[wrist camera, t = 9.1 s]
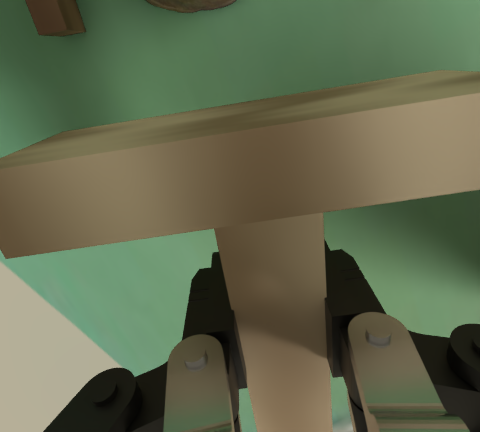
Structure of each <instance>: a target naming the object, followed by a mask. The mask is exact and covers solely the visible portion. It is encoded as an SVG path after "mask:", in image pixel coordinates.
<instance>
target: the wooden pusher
mask: <svg viewBox="0 0 480 432" xmlns="http://www.w3.org/2000/svg"><path fill="white" fill-rule="evenodd" d="M473 190H480V72H473V71H451V70H438V71H431V72H425V73H419V74H413V75H407V76H401V77H395V78H389V79H383V80H376V81H370V82H364V83H358V84H352V85H346V86H340V87H334V88H328V89H321V90H315V91H309V92H303V93H297V94H291V95H285V96H279V97H273V98H266V99H260V100H254V101H248V102H242V103H236V104H230V105H224V106H218V107H211V108H205V109H199V110H193V111H187V112H181V113H175V114H169V115H163V116H156V117H150V118H144V119H138V120H132V121H126V122H120V123H114V124H108V125H102V126H95V127H89V128H83V129H77V130H71V131H65V132H61V133H59V134H57V135H54V136H52V137H50V138H47V139H45V140H42V141H40V142H38V143H35V144H33V145H31V146H28V147H26V148H24V149H21V150H19V151H16V152H14V153H12V154H9V155H7V156H5V157H2V158H0V249H1V251H2V253H3V255H4V257H5V258H6V259H8V258H15V257H22V256H29V255H36V254H43V253H49V252H56V251H63V250H70V249H77V248H84V247H90V246H97V245H104V244H111V243H118V242H125V241H131V240H138V239H145V238H152V237H159V236H166V235H172V234H179V233H186V232H193V231H200V230H207V229H213V228H214V231H215V235H216V240H217V245H218V249H219V254H220V259H221V263H222V268H223V273H224V277H225V282H226V287H227V291H228V296H229V301H230V305H231V310H234V312H235V317H236V322H237V327H238V332H239V336H240V341H241V346H242V351H243V355H244V360H245V365H246V372H247V385H248V390H249V394H250V399H251V404H252V408H253V413H254V418H255V422H256V427H257V432H332V409H331V386H330V366H329V363H328V360H327V344H326V322H325V301H324V298H326V297H327V293H326V269H325V246H324V223H323V212H330V211H336V210H343V209H350V208H357V207H364V206H371V205H378V204H384V203H391V202H398V201H405V200H412V199H419V198H425V197H432V196H439V195H446V194H453V193H460V192H466V191H473Z"/></svg>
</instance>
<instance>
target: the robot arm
mask: <svg viewBox="0 0 480 432" xmlns="http://www.w3.org/2000/svg"><path fill="white" fill-rule="evenodd" d="M324 246H325V269H326V293H327V297H326V298H324V301H325V322H326V344H327V360H328V363H329V366H330V370H331V373H332V376H333V378H334V377H343V378H344V380H345V383H346V386H347V400H348V406H349V411H350V415H351V420H352V425H353V430H354V432H480V324H464V325H461V326H458V327H457V328H455V329H454V330H453V331H452V333H451V336H450V338H447V337H439V336H432V335H424V334H419V333H415V332H411V331H409V330H407V329H406V327H405V326H404V325H403V324H402V323H401V322H400V321H398V320H397V319H395V318H393V317H391V316H389V315H387V314H386V313H385V311H384V309H383V308H382V306H381V304H380V302H379V301H378V299H377V297H376V296H375V294H374V292H373V291H372V289H371V287H370V285H369V284H368V282H367V280H366V279H365V278H364V275H363V273H362V272H361V270H359V267H358V265H357V263H356V262H355V260H354V258H353V257H352V256H350V255H349V254H348V253H346V252H345V251H343V250H342V249H340V250H333V251H330V249H329V247H328V245H327V243H326V241H325V239H324ZM188 301H189V303H188V306H187V313H186V319H185V325H184V331H183V337H182V341H181V342H180V343H178V344H177V345H176V346H175V347H174V349H173V350H172V352H171V354H170V356H169V359H168V361H167V362H166V363H164V364H163V365H161V366H159V367H157V368H155V369H153V370H151V371H148V372H146V373H144V374H141V375H139V376H137V377H134V375H133V374H132V373H131V372H130V371H129V370H127V369H124V368H112V369H109V370H106V371H103V372H101V373H99V374H98V375H96V376H95V377H93V378H92V379H91V380H90V381H89V382H88V383H87V384H86V385H85V386H84V387H83V388H82V389H81V390H80V391H79V392H78V393H77V395H76V396H75V397H74V398H73V399H72V400H71V401H70V402H69V404H68V405H67V406H66V407H65V408H64V409H63V410H62V411H61V412H60V414H59V415H58V416H57V417H56V418H55V419H54V420H53V421H52V423H51V424H50V425H49V426H48V427H47V428H46V429H45V430H44V431H43V432H242V429H241V422H240V415H239V389H243V388H247V372H246V365H245V360H244V355H243V351H242V346H241V341H240V336H239V332H238V327H237V322H236V317H235V312H234V310H231V305H230V301H229V296H228V291H227V287H226V282H225V277H224V273H223V268H222V263H221V259H220V254H219V252H214V253H213V254H212V264H211V268H204V269H199V270H198V272H197V273H196V275H195V276H194V277H193V279H192V282H191V288H190V294H189V300H188Z"/></svg>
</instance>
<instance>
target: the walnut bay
mask: <svg viewBox="0 0 480 432" xmlns="http://www.w3.org/2000/svg"><path fill="white" fill-rule="evenodd" d="M25 1H26V3H27V6H28V8H29V11H30V13H31V16H32V18H33V21H34V24H35V26H36V29H37V31H38V34H39V35H45V36H67V35H72V34H78V33H83V32H86V30H85V27H84V24H83V21H82V18H81V15H80V12H79V9H78V6H77V3H76V0H25Z"/></svg>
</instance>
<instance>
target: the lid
mask: <svg viewBox="0 0 480 432" xmlns="http://www.w3.org/2000/svg"><path fill="white" fill-rule="evenodd" d="M146 1H147V2H148V3H150V4H151V5H154V6H157V7H160V8H164V9H167V10H172V11H176V12H181V13H193V12H197V11H200V10H214V9H218V8H222V7H226V6H228V5H230V4H232V3H234V2H235V1H236V0H146Z"/></svg>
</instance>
